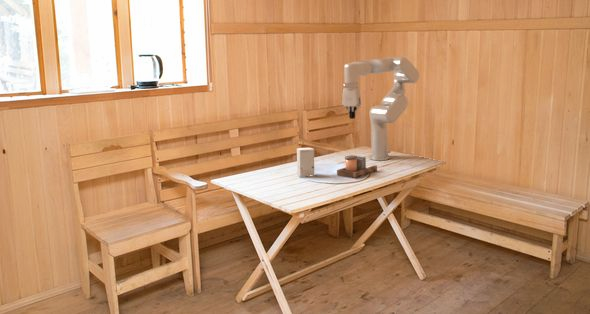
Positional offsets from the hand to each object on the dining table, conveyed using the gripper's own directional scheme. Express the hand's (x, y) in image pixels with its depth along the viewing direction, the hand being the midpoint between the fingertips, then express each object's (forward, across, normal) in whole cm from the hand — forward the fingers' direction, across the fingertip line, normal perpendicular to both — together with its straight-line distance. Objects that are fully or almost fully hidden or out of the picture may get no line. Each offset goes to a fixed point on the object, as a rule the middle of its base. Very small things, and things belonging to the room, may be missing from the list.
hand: (352, 118), depth 317 cm
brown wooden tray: (+26, +14, -17) cm, 34 cm away
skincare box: (+26, -7, -35) cm, 45 cm away
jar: (+25, +13, -22) cm, 36 cm away
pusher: (+25, +14, -15) cm, 33 cm away
